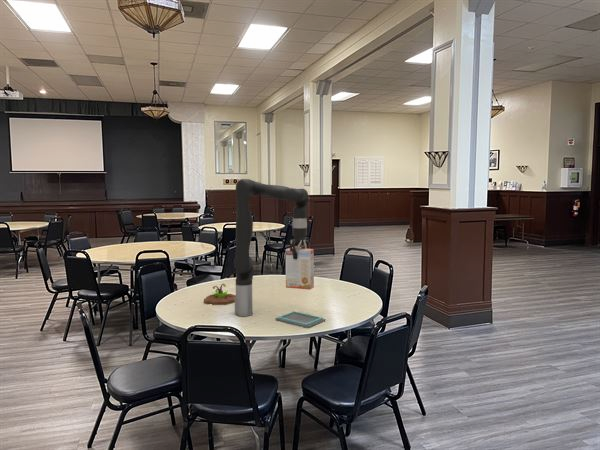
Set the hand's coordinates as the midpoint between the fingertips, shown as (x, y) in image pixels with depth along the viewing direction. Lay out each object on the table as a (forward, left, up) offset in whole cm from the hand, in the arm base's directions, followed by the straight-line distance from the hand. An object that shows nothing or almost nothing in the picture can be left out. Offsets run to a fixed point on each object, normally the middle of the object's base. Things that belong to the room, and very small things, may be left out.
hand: (299, 258), depth 228 cm
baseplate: (0, 0, -34) cm, 34 cm away
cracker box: (0, 0, -16) cm, 16 cm away
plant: (-64, +1, -34) cm, 73 cm away
